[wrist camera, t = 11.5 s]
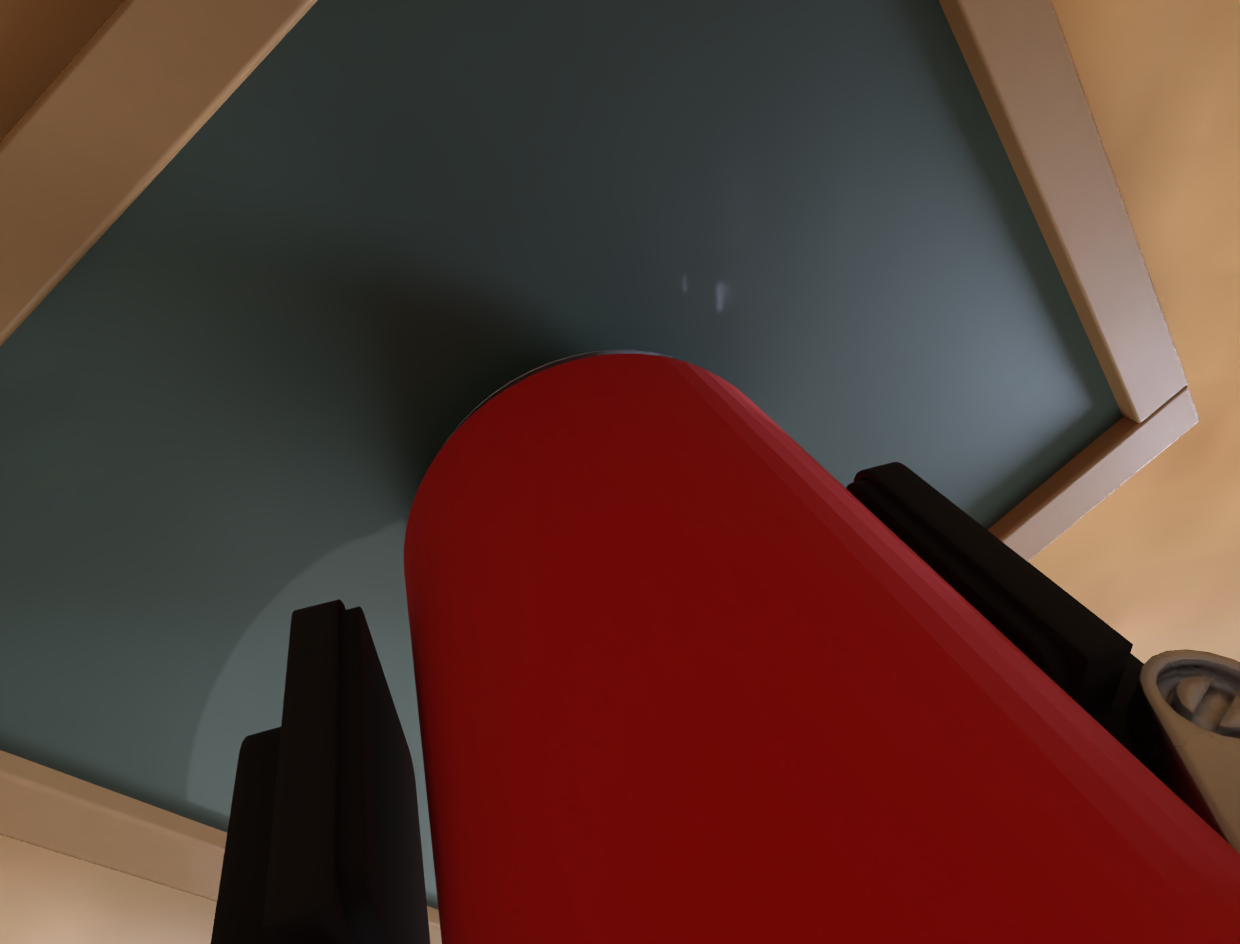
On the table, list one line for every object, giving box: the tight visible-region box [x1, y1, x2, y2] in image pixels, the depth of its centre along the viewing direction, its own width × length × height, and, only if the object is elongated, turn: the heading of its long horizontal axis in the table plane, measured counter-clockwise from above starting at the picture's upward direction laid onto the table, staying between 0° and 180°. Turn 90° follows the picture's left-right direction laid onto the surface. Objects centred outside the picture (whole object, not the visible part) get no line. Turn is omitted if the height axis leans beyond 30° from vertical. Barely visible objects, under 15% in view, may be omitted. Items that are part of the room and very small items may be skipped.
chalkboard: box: [0, 0, 1199, 944], centre depth 13 cm, size 20×17×2 cm
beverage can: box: [404, 350, 1240, 944], centre depth 8 cm, size 6×6×12 cm
